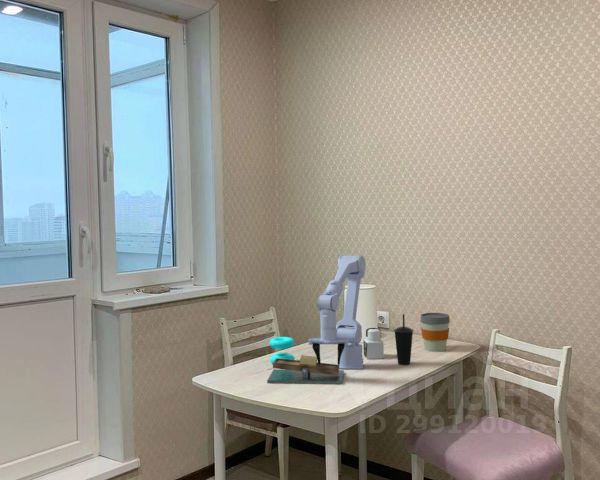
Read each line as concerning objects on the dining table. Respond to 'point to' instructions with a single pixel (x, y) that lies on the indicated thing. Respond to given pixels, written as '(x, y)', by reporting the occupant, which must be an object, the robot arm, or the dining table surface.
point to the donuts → (281, 347)
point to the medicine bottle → (373, 344)
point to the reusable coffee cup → (435, 331)
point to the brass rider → (308, 360)
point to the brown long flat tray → (296, 366)
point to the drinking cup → (403, 343)
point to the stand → (304, 377)
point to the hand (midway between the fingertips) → (328, 363)
